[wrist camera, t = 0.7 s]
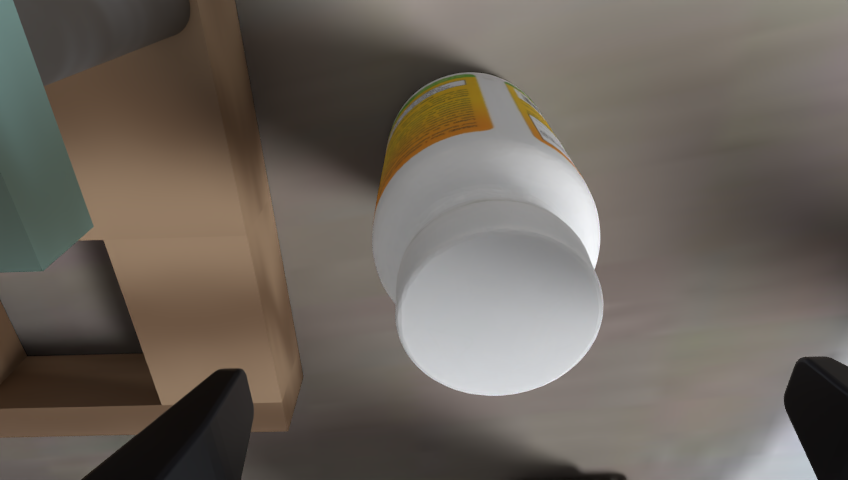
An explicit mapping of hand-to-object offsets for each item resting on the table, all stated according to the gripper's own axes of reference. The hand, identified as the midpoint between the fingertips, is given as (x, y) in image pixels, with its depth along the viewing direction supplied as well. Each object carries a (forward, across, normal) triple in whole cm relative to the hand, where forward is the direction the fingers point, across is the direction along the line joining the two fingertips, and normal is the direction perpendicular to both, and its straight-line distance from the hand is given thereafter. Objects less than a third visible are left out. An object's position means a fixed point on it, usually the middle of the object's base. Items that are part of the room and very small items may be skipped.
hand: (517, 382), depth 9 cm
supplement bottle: (+12, 0, 0) cm, 12 cm away
